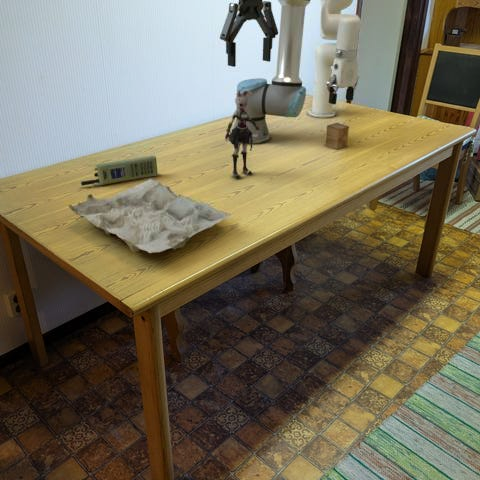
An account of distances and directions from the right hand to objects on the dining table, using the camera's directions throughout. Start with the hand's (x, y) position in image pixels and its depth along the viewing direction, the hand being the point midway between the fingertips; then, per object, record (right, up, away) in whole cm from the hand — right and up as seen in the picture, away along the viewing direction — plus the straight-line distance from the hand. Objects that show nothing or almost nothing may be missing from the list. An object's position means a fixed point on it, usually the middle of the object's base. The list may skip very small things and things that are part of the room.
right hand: (340, 101), depth 191 cm
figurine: (-38, -30, -19) cm, 52 cm away
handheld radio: (-77, -33, -25) cm, 88 cm away
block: (0, -15, +8) cm, 17 cm away
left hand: (-35, 0, -42) cm, 55 cm away
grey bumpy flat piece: (-63, -49, -52) cm, 95 cm away
